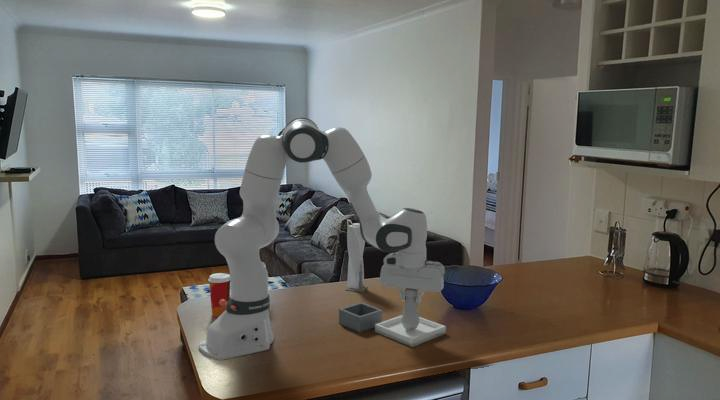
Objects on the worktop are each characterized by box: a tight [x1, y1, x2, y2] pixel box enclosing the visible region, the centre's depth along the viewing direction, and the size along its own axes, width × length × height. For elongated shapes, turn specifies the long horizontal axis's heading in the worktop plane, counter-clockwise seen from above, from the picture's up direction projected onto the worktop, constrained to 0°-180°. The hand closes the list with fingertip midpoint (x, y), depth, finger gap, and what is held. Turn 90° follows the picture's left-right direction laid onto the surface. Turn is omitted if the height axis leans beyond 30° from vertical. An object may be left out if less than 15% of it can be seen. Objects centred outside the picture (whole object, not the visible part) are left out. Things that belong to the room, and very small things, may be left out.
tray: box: [374, 314, 447, 348], centre depth 177 cm, size 16×16×2 cm
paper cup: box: [207, 272, 231, 319], centre depth 190 cm, size 8×8×14 cm
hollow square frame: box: [338, 302, 383, 333], centre depth 184 cm, size 10×10×5 cm
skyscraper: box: [345, 219, 369, 293], centre depth 221 cm, size 8×8×28 cm
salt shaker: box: [401, 288, 420, 330], centre depth 176 cm, size 6×6×13 cm
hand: (411, 301), depth 175 cm, fingers closed on salt shaker, 3 cm apart
